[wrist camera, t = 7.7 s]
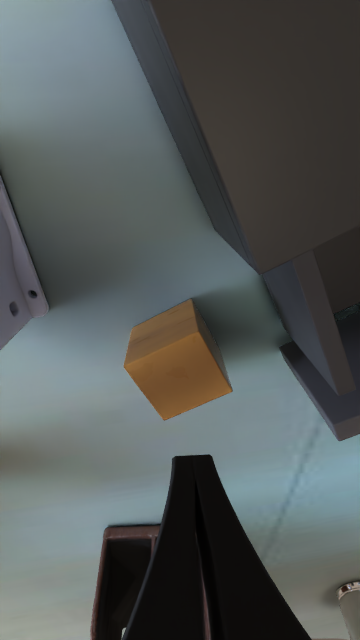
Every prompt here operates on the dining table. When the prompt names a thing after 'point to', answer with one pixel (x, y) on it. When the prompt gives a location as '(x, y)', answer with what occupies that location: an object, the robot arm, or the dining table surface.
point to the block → (176, 361)
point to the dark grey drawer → (323, 327)
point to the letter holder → (128, 579)
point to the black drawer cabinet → (260, 113)
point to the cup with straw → (350, 608)
